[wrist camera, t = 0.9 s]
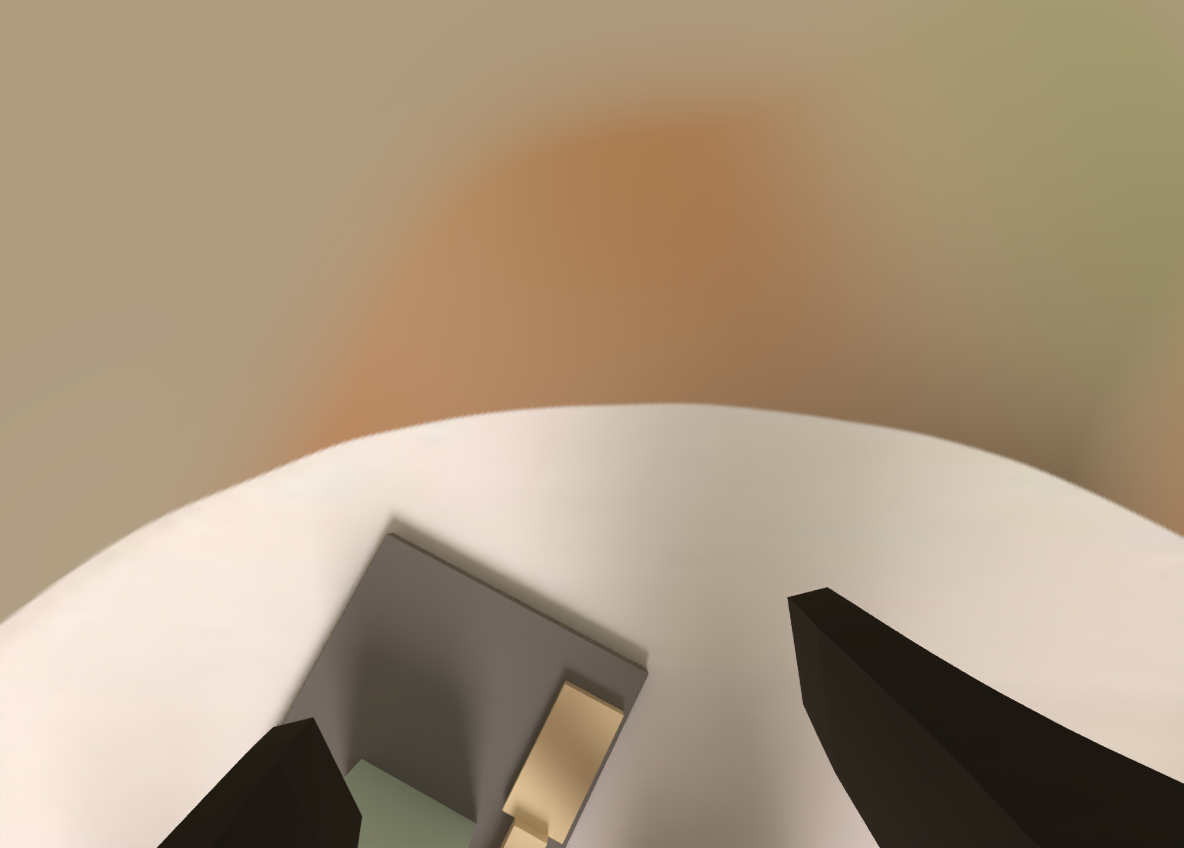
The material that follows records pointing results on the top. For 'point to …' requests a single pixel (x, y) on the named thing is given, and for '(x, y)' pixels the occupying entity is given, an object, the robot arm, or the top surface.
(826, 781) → the top surface
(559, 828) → the light wooden plank
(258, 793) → the robot arm
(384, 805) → the tile
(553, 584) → the top surface
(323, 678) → the mat
